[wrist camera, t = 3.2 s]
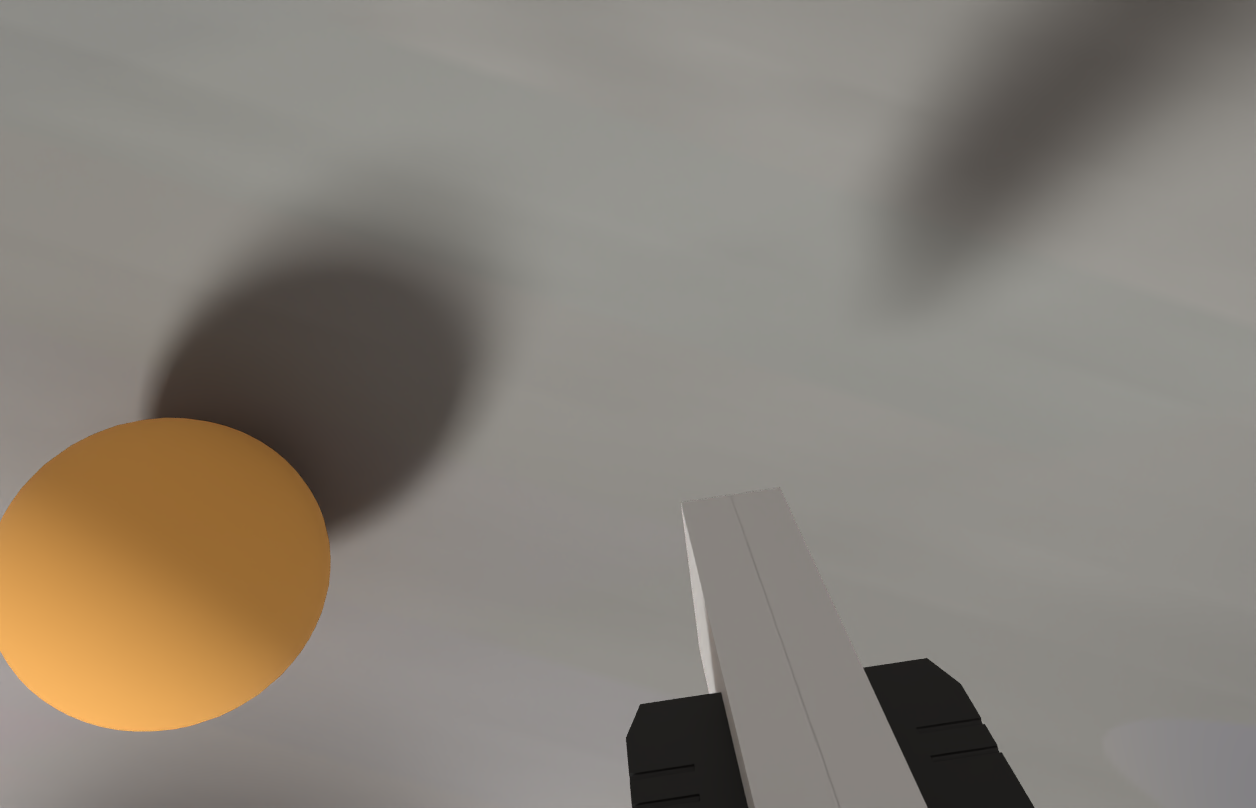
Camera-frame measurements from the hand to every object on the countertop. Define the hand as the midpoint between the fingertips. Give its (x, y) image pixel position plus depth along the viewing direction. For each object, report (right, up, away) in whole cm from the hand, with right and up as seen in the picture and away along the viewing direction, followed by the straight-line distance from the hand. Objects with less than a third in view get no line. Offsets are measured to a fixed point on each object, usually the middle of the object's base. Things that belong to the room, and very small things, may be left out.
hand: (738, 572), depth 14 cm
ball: (-10, 0, +2) cm, 10 cm away
